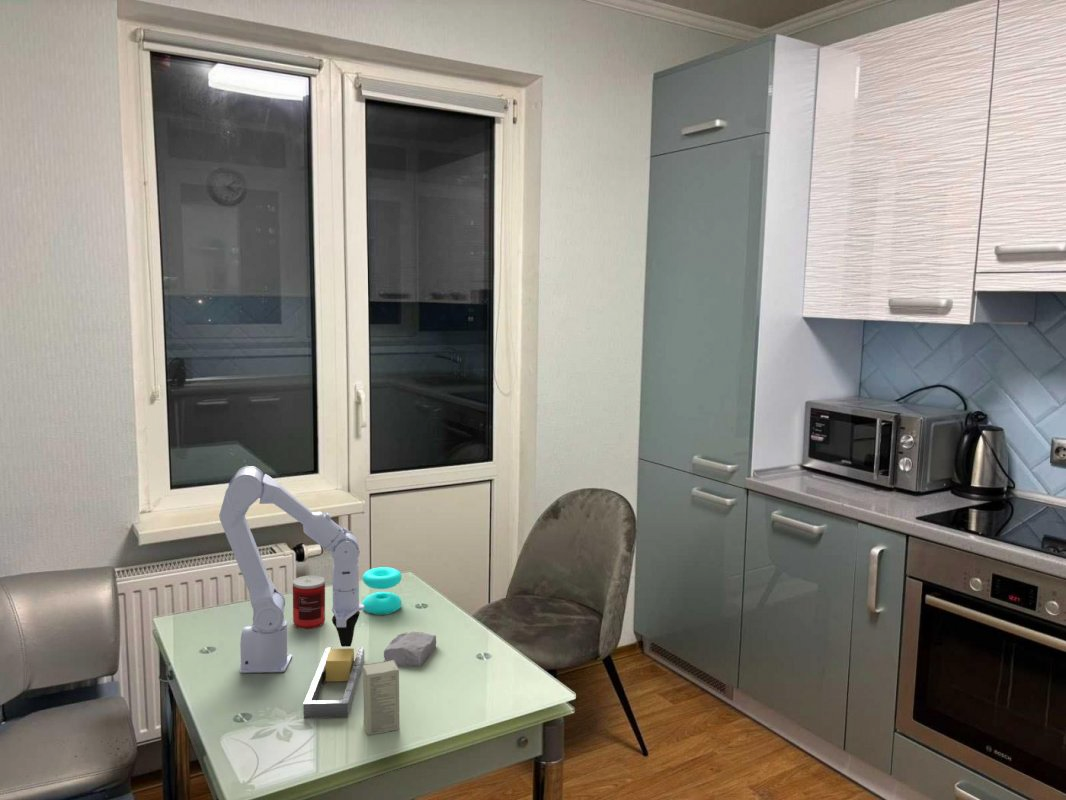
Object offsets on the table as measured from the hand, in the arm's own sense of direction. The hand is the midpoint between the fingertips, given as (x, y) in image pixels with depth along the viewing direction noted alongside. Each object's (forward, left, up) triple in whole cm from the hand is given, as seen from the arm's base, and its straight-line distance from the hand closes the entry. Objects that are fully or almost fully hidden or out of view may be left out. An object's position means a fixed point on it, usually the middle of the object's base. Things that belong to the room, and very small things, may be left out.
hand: (346, 645), depth 180 cm
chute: (0, -13, -3) cm, 13 cm away
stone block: (+14, +2, -4) cm, 14 cm away
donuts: (+5, +29, -3) cm, 30 cm away
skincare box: (+11, -30, -3) cm, 32 cm away
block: (0, -9, -3) cm, 9 cm away
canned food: (-12, +20, -3) cm, 24 cm away
